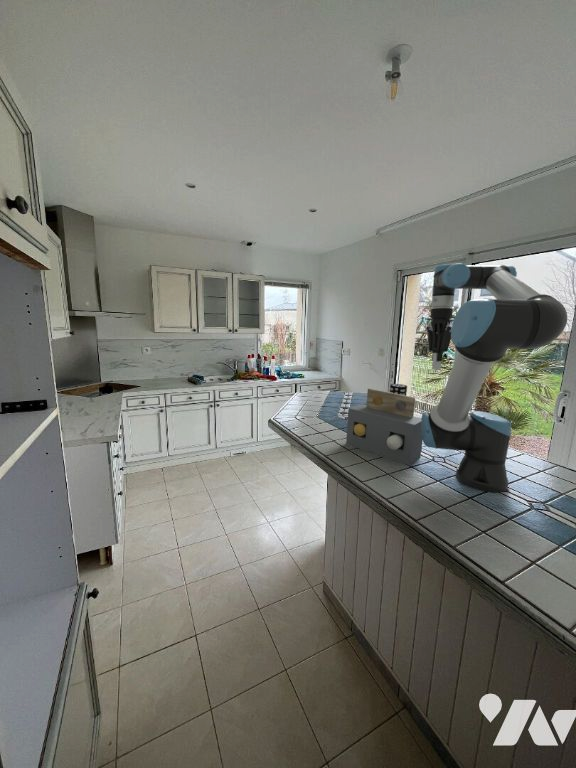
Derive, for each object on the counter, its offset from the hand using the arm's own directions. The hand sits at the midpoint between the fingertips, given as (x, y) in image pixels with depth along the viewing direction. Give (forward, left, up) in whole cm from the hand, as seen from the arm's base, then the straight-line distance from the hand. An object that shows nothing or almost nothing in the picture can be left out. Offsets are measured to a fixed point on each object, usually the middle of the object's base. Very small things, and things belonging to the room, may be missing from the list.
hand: (436, 369), depth 123 cm
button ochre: (+7, +26, -29) cm, 40 cm away
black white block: (+36, -6, -35) cm, 50 cm away
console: (+3, +19, -34) cm, 39 cm away
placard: (+4, +16, -18) cm, 25 cm away
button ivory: (-8, +19, -29) cm, 35 cm away
